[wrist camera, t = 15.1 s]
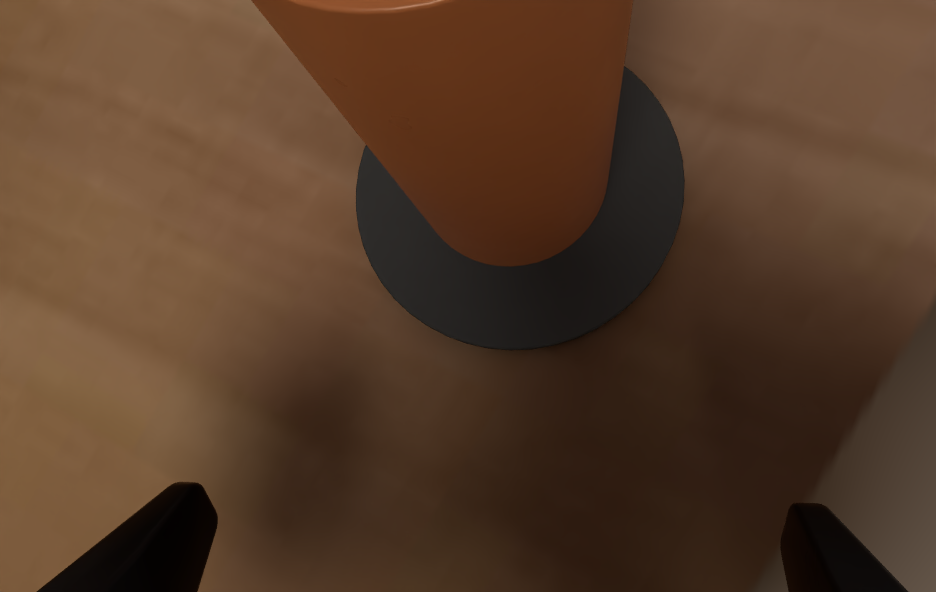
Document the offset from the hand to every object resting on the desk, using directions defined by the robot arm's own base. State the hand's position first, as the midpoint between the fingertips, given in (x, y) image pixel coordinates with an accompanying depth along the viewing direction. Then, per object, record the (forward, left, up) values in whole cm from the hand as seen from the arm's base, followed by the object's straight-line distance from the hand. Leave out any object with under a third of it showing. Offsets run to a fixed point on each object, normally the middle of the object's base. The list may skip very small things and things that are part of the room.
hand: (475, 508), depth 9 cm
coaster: (+3, -7, -7) cm, 10 cm away
